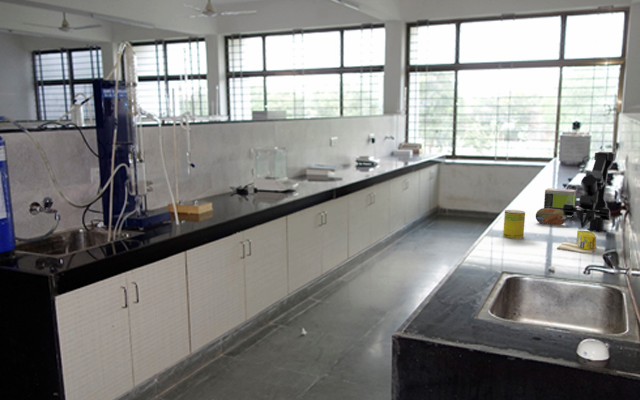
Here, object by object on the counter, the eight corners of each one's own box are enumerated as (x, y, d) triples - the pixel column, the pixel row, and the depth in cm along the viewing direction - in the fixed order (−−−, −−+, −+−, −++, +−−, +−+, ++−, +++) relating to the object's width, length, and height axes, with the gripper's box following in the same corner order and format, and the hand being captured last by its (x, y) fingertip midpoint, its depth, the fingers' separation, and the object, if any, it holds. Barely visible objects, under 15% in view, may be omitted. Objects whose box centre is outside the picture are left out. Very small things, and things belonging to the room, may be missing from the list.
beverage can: (524, 239, 240) (526, 213, 238) (504, 238, 242) (506, 213, 240) (521, 234, 249) (523, 210, 247) (501, 233, 250) (503, 209, 248)
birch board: (564, 242, 233) (564, 241, 233) (596, 247, 226) (596, 246, 225) (557, 248, 223) (557, 247, 223) (590, 254, 215) (590, 252, 215)
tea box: (574, 215, 296) (576, 189, 294) (571, 218, 288) (574, 191, 286) (545, 212, 304) (547, 187, 302) (542, 215, 296) (544, 189, 294)
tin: (535, 223, 274) (536, 207, 273) (535, 222, 277) (536, 206, 275) (566, 226, 268) (567, 210, 267) (566, 224, 271) (567, 209, 270)
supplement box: (591, 244, 229) (595, 250, 219) (576, 243, 231) (579, 249, 221) (592, 231, 228) (596, 236, 218) (577, 230, 230) (580, 235, 220)
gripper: (565, 186, 236) (557, 213, 229) (611, 190, 224) (604, 219, 218) (568, 201, 243) (560, 228, 236) (613, 205, 232) (606, 234, 225)
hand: (582, 227), depth 229 cm, fingers closed
